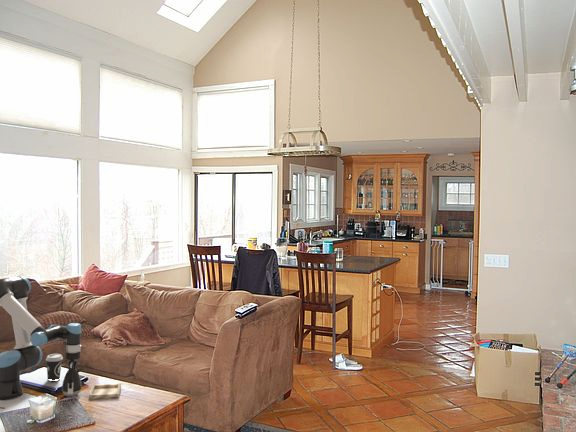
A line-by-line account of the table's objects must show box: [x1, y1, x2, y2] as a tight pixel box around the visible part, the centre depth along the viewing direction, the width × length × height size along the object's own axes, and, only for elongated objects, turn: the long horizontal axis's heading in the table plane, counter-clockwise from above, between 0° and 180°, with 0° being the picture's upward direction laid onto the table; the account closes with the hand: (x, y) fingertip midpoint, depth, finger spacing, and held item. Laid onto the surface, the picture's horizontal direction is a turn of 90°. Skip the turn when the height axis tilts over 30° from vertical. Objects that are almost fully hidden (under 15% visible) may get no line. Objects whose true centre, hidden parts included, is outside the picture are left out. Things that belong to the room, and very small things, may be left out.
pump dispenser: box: [61, 368, 83, 398], centre depth 292 cm, size 10×10×15 cm
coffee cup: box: [45, 353, 64, 380], centre depth 313 cm, size 10×10×15 cm
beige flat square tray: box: [88, 383, 122, 401], centre depth 297 cm, size 16×16×2 cm
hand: (71, 390), depth 292 cm, fingers closed on pump dispenser, 10 cm apart
